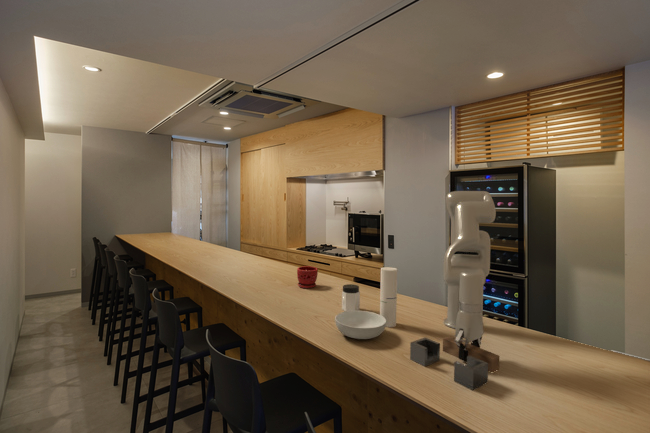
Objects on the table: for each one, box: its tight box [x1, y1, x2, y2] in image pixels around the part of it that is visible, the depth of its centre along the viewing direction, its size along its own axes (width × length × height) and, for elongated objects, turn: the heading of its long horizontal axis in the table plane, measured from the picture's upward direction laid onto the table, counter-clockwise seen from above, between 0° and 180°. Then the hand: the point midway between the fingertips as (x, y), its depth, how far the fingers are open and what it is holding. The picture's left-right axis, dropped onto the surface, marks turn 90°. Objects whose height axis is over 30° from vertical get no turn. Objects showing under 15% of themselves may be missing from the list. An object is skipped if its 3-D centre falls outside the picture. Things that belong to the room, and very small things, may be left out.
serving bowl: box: [334, 310, 386, 340], centre depth 139 cm, size 21×21×7 cm
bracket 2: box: [453, 356, 489, 391], centre depth 103 cm, size 6×8×6 cm
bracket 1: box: [409, 337, 441, 367], centre depth 117 cm, size 6×8×6 cm
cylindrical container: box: [379, 266, 398, 328], centre depth 150 cm, size 7×7×25 cm
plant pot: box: [296, 265, 319, 289], centre depth 216 cm, size 13×13×12 cm
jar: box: [341, 283, 361, 312], centre depth 170 cm, size 9×8×12 cm
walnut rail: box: [442, 335, 501, 373], centre depth 117 cm, size 19×4×5 cm, turn 33°
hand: (469, 357), depth 117 cm, fingers open, 6 cm apart
